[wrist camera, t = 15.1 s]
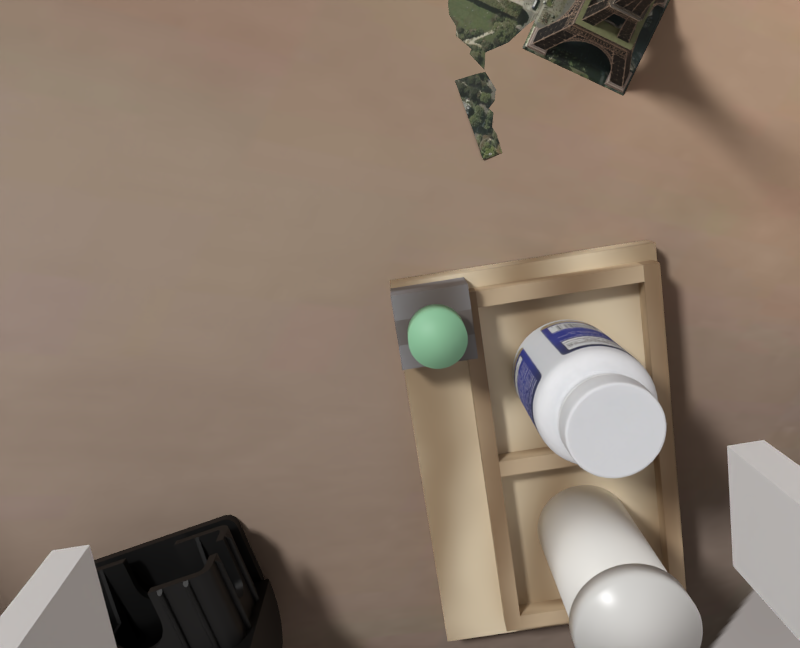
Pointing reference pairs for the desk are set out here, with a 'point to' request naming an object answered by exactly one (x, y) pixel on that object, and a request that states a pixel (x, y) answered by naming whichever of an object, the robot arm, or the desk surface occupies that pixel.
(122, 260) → the desk surface
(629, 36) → the eiffel tower figurine
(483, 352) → the wooden compartment tray
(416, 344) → the button
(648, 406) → the pill bottle
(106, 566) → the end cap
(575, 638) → the seated billet
